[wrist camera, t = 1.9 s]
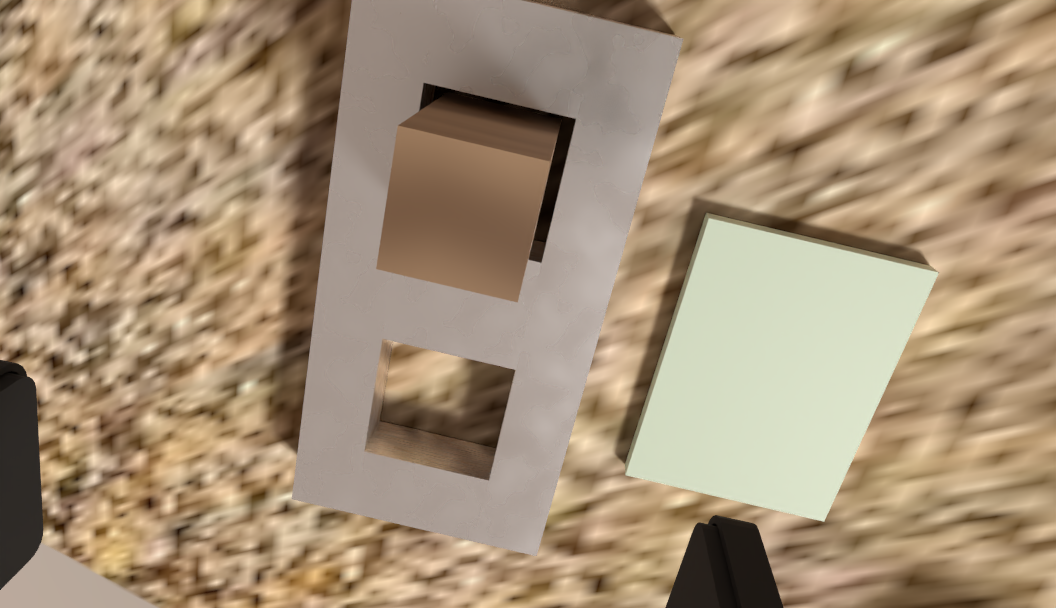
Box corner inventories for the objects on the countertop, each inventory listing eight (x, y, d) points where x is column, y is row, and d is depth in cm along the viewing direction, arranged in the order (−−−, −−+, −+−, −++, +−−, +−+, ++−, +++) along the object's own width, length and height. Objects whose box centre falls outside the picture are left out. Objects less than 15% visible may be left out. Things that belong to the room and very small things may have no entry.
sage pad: (706, 212, 30) (709, 218, 29) (930, 265, 30) (938, 272, 29) (624, 464, 34) (625, 474, 33) (819, 510, 34) (824, 521, 34)
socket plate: (376, -37, 27) (356, -40, 25) (675, 35, 27) (683, 38, 25) (311, 466, 36) (292, 499, 33) (540, 519, 36) (536, 555, 33)
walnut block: (448, 91, 29) (397, 125, 21) (561, 118, 29) (550, 161, 21) (428, 202, 30) (375, 268, 23) (536, 227, 30) (517, 302, 23)
